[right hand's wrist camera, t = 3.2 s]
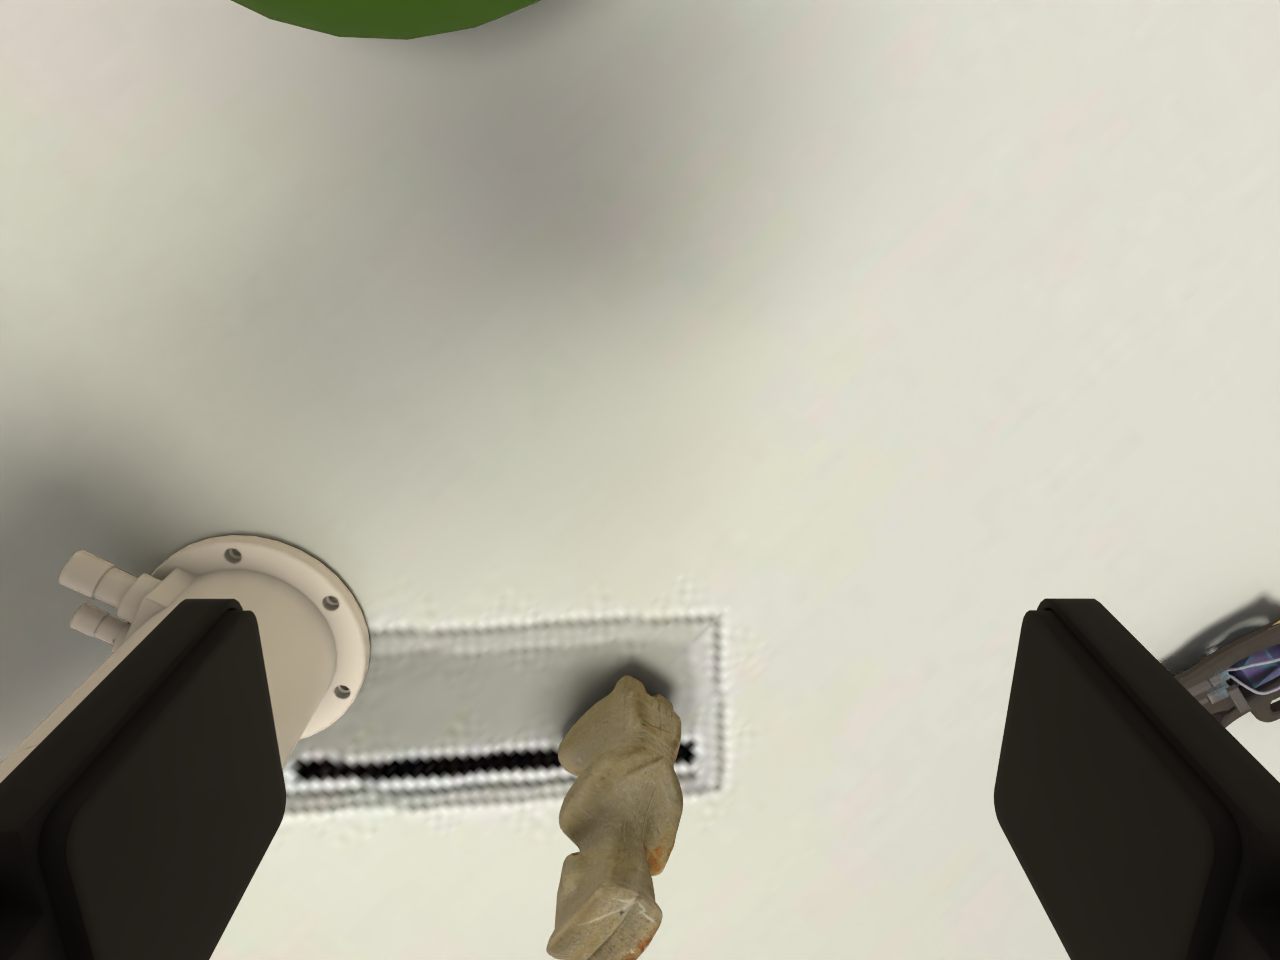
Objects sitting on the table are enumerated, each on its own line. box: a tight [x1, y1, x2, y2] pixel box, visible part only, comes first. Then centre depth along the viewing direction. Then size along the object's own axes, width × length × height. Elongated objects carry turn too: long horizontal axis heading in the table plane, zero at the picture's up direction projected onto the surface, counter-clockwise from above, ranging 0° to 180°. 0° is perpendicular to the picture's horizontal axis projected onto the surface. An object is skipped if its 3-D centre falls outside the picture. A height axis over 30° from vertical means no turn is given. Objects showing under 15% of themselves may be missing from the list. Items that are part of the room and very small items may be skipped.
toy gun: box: [1174, 620, 1280, 728], centre depth 50 cm, size 3×19×10 cm
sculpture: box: [547, 675, 683, 960], centre depth 45 cm, size 6×7×15 cm
